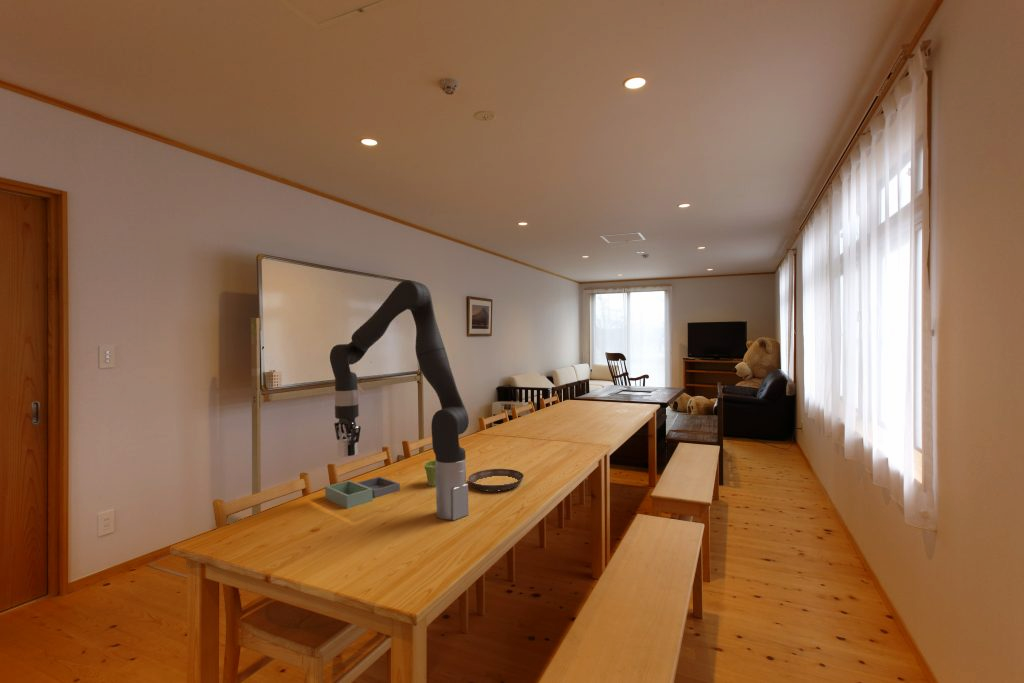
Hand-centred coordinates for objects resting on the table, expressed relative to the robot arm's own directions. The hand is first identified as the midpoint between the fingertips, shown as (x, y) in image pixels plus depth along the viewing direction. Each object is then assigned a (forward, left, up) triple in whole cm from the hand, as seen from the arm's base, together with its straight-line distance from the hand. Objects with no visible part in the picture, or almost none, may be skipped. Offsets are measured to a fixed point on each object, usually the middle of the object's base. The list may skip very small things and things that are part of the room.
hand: (347, 454), depth 158 cm
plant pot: (-10, -30, -17) cm, 35 cm away
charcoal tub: (+1, -12, -16) cm, 20 cm away
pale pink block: (0, 0, 0) cm, 0 cm away
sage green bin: (0, 0, -16) cm, 16 cm away
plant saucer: (-25, -46, -17) cm, 55 cm away
